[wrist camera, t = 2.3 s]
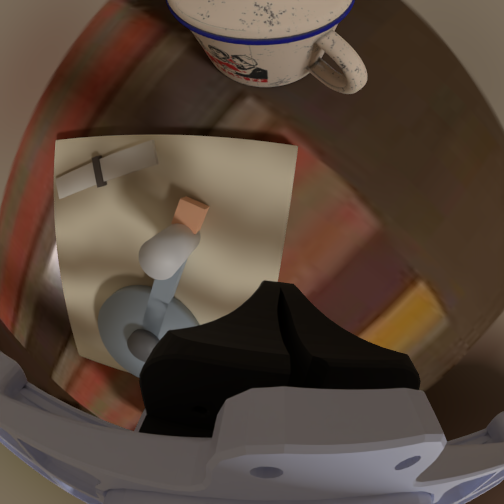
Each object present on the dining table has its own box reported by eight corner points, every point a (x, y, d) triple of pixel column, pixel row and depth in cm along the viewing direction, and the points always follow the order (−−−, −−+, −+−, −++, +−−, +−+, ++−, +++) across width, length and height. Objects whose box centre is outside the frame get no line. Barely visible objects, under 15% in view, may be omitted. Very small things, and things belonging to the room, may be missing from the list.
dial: (187, 390, 24) (174, 427, 20) (99, 346, 24) (75, 376, 19) (264, 231, 19) (261, 255, 14) (137, 175, 18) (98, 181, 13)
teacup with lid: (180, 44, 16) (103, -33, 5) (265, -19, 13) (257, -115, 2) (292, 145, 18) (321, 121, 7) (378, 74, 16) (466, 13, 4)
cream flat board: (255, 390, 25) (254, 403, 24) (84, 349, 26) (76, 358, 24) (296, 147, 18) (298, 145, 16) (64, 140, 19) (51, 140, 17)
